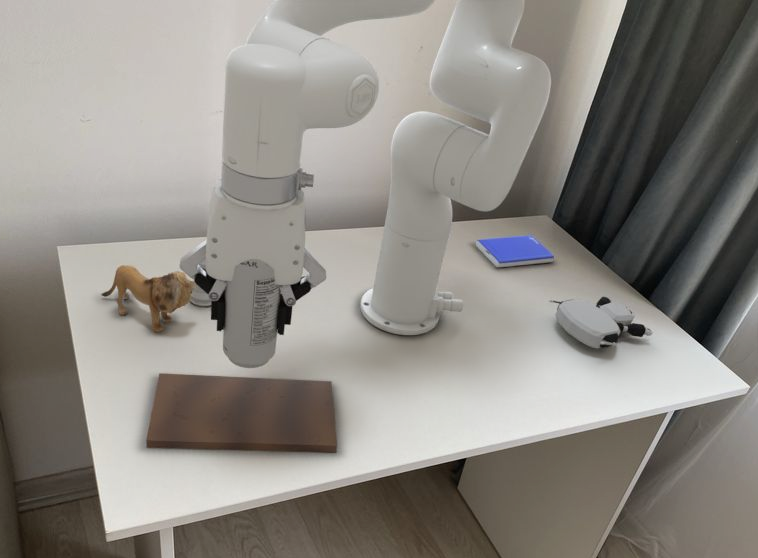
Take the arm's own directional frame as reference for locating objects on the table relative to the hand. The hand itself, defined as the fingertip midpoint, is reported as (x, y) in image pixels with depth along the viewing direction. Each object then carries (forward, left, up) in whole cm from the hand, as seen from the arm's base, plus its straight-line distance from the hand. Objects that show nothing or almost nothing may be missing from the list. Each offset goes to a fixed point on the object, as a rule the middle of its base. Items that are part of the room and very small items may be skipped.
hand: (250, 324), depth 83 cm
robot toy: (-56, -23, -14) cm, 62 cm away
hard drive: (-48, -47, -14) cm, 69 cm away
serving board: (0, 0, -14) cm, 14 cm away
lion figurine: (+14, -20, -14) cm, 28 cm away
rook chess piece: (+7, -25, -14) cm, 30 cm away
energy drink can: (0, 0, -5) cm, 5 cm away
